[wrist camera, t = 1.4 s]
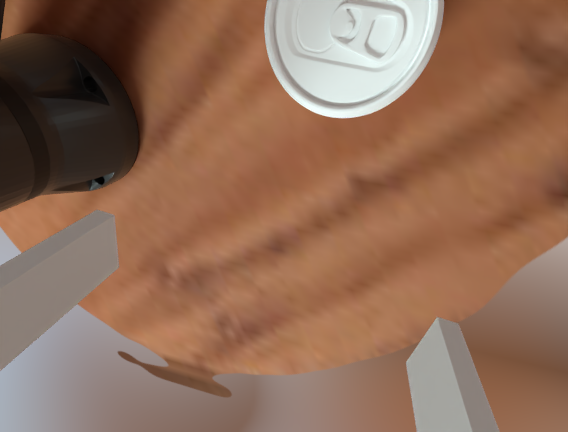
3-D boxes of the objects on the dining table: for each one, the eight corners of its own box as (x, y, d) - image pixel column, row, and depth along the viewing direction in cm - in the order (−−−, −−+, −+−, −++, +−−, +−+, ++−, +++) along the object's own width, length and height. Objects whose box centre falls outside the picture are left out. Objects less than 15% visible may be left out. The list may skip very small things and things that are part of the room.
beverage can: (321, -40, 21) (283, -136, 11) (430, -6, 21) (500, -73, 10) (289, 79, 25) (239, 92, 15) (380, 110, 25) (394, 145, 14)
